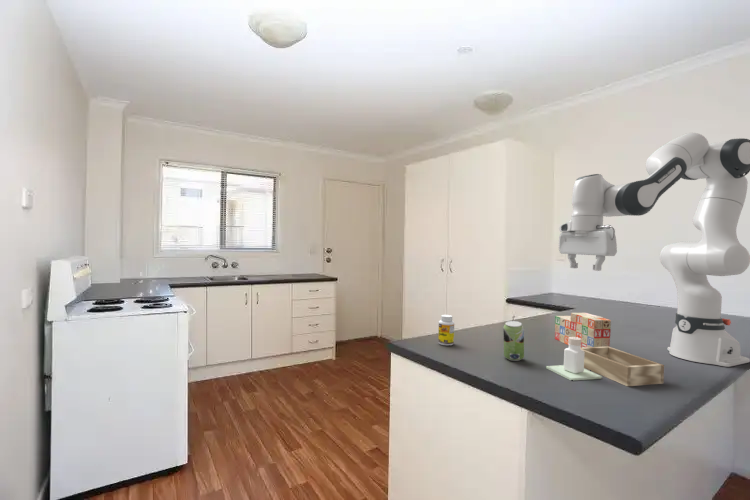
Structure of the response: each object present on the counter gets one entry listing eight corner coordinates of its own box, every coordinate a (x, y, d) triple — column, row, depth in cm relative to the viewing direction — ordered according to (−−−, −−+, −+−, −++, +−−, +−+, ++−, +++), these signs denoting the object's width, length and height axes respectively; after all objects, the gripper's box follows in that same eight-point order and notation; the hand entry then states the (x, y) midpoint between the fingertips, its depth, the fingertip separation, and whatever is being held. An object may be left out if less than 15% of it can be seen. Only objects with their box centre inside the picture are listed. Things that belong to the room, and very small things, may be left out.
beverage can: (524, 357, 120) (525, 320, 120) (523, 364, 113) (524, 325, 113) (503, 354, 122) (505, 318, 122) (501, 361, 116) (502, 322, 116)
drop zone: (574, 366, 113) (574, 364, 112) (601, 378, 103) (601, 376, 103) (546, 368, 110) (546, 366, 110) (571, 380, 100) (571, 378, 100)
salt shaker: (584, 372, 105) (586, 339, 105) (575, 374, 104) (576, 340, 103) (571, 368, 109) (573, 335, 109) (562, 369, 107) (563, 337, 107)
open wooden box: (607, 362, 118) (608, 346, 118) (663, 383, 100) (664, 365, 100) (575, 363, 115) (575, 347, 115) (627, 386, 97) (627, 367, 97)
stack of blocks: (554, 339, 145) (555, 307, 145) (568, 339, 146) (569, 308, 146) (593, 356, 124) (594, 319, 124) (610, 355, 125) (611, 319, 125)
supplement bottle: (434, 343, 135) (435, 315, 135) (445, 341, 138) (446, 313, 138) (446, 346, 130) (447, 317, 130) (457, 344, 133) (457, 316, 133)
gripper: (623, 224, 109) (621, 272, 109) (571, 227, 129) (570, 267, 129) (605, 224, 107) (603, 272, 107) (555, 226, 127) (554, 267, 127)
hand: (584, 269), depth 118 cm, fingers open, 8 cm apart
